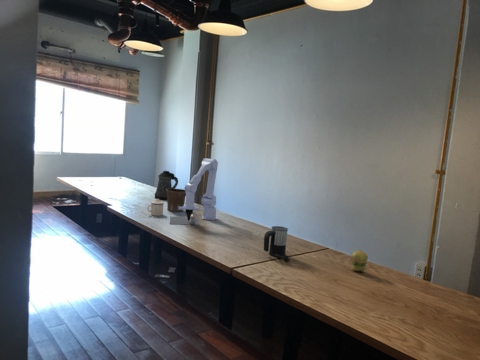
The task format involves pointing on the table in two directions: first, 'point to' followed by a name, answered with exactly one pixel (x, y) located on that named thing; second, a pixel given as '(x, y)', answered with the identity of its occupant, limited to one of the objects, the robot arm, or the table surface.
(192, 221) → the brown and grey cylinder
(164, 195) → the beer stein
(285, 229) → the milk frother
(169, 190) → the plant pot
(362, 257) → the hamburger
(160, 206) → the teacup with lid
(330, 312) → the table surface
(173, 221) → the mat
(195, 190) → the robot arm
